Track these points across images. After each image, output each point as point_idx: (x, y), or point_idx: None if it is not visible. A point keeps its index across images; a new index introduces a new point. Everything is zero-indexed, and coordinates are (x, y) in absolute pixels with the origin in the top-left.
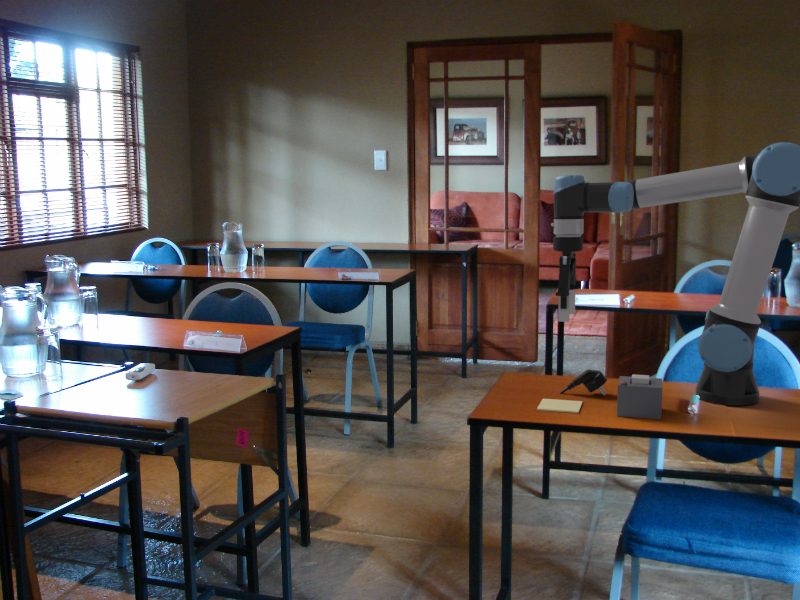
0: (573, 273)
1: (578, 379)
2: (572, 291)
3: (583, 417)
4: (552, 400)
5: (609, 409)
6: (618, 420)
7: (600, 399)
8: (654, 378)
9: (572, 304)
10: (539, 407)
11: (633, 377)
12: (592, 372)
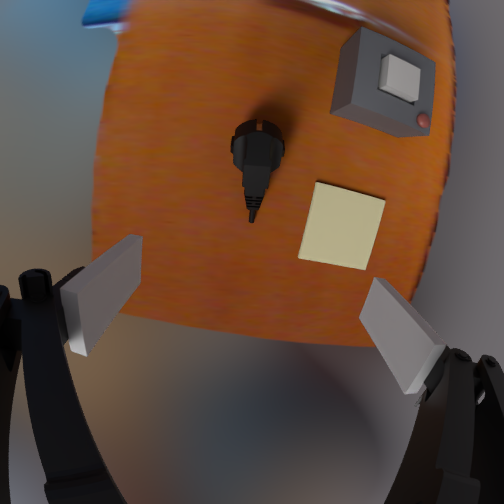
0: (96, 452)
1: (265, 188)
2: (85, 306)
3: (405, 195)
4: (312, 240)
5: (358, 138)
6: (417, 142)
7: (284, 140)
8: (363, 40)
9: (122, 266)
10: (359, 265)
11: (413, 94)
12: (269, 154)
